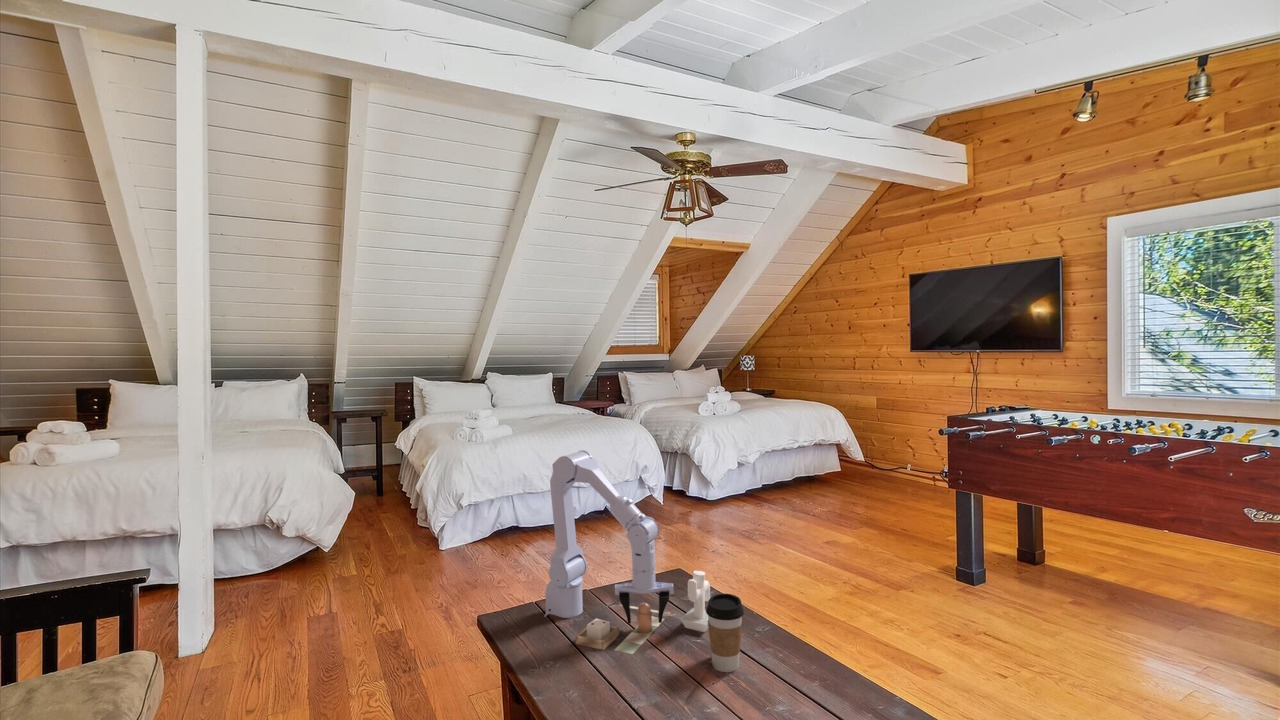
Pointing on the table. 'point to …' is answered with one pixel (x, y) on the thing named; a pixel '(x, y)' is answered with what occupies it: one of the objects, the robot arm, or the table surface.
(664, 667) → the table surface
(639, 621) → the pawn
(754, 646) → the table surface
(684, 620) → the figurine
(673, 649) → the table surface
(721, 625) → the coffee cup
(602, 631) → the die
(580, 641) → the game board
